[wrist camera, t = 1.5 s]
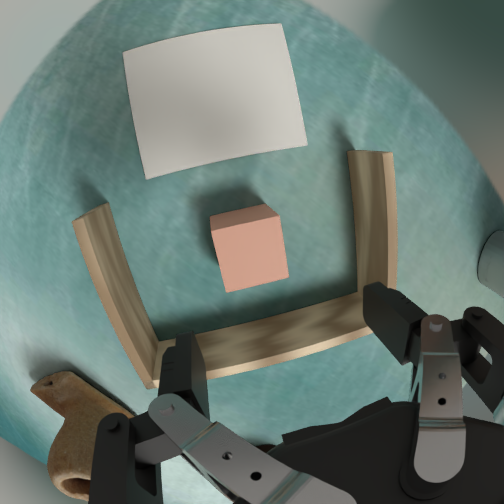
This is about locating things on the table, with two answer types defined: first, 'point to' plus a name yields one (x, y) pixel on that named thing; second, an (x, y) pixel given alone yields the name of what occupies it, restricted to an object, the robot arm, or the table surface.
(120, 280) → the wooden u-shaped wall
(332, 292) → the table surface
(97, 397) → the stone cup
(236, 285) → the terracotta block
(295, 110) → the grey mat
